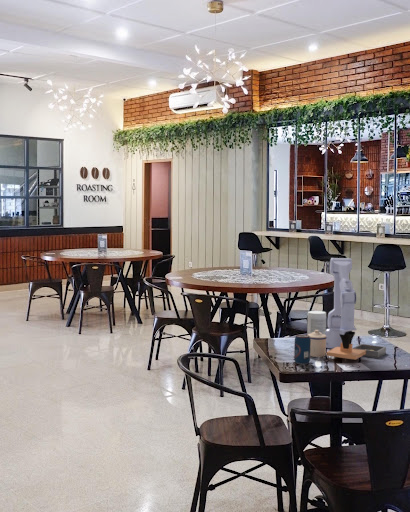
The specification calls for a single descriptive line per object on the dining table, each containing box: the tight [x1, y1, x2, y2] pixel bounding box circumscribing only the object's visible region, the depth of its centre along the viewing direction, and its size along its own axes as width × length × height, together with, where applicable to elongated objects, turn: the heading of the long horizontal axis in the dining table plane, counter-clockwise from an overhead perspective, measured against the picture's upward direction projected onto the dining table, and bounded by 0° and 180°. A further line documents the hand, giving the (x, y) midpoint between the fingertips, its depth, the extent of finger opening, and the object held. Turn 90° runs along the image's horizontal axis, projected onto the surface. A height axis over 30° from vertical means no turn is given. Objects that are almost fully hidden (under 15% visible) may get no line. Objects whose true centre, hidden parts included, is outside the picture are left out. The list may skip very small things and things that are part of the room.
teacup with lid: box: [308, 330, 327, 358], centre depth 295 cm, size 12×9×12 cm
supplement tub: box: [306, 310, 327, 335], centre depth 327 cm, size 10×10×15 cm
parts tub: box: [352, 343, 387, 359], centre depth 299 cm, size 12×12×3 cm
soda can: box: [293, 334, 311, 365], centre depth 280 cm, size 7×7×12 cm
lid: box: [325, 343, 366, 361], centre depth 287 cm, size 14×14×5 cm
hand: (346, 348), depth 287 cm, fingers closed on lid
